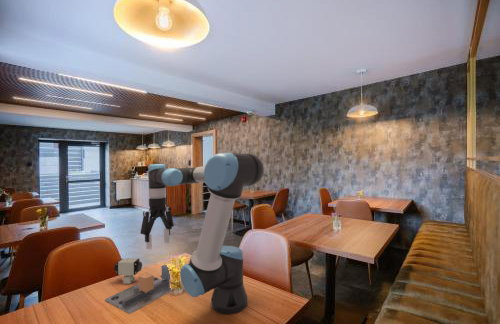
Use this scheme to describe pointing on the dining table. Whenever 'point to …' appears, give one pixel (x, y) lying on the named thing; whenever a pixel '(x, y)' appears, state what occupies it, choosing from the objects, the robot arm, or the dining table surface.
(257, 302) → the dining table surface
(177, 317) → the dining table surface
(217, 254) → the robot arm
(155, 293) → the bolt plate
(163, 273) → the beam with fixed leg
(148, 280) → the tan rectangular block
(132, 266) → the pneumatic valve
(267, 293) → the dining table surface
